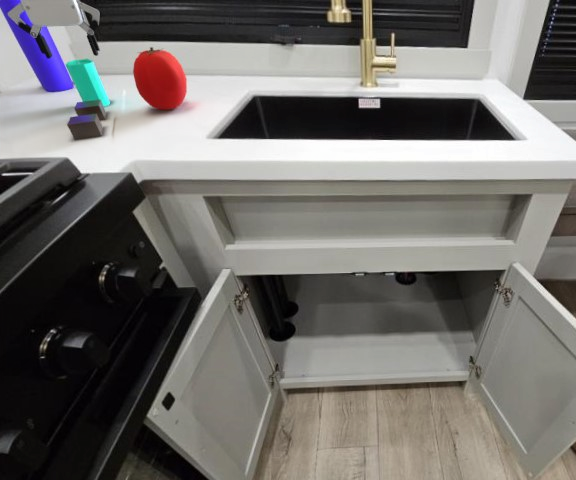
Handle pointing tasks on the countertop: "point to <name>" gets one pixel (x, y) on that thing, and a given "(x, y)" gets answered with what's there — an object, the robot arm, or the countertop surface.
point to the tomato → (160, 79)
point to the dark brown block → (91, 108)
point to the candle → (87, 80)
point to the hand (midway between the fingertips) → (73, 56)
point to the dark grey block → (85, 126)
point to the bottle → (39, 52)
